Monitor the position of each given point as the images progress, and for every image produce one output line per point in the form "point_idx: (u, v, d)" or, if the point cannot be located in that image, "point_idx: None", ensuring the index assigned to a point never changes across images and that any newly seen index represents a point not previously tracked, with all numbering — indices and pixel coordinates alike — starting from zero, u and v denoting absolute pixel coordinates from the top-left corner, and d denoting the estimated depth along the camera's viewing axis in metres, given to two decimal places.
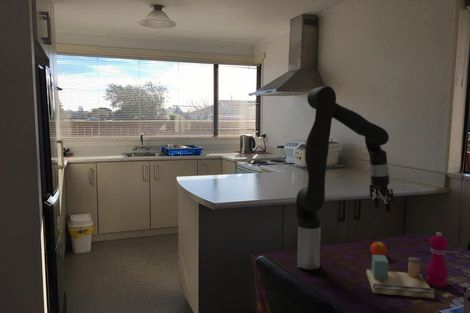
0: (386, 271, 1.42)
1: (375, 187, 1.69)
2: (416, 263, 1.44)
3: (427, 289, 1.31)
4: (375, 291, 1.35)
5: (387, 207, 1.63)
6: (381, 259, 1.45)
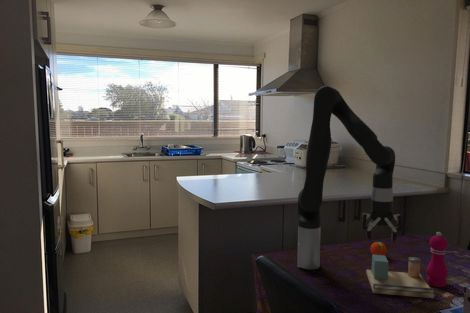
0: (386, 271, 1.42)
1: None
2: (416, 263, 1.44)
3: (427, 289, 1.31)
4: (375, 291, 1.35)
5: None
6: (381, 259, 1.45)
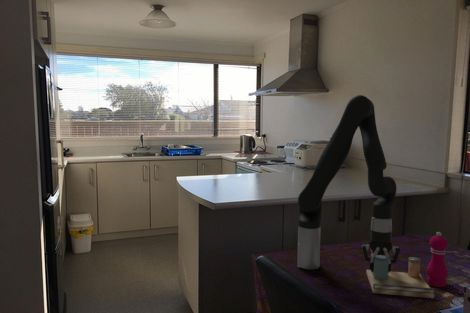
0: (386, 271, 1.42)
1: None
2: (416, 263, 1.44)
3: (427, 289, 1.31)
4: (375, 291, 1.35)
5: None
6: (381, 259, 1.45)
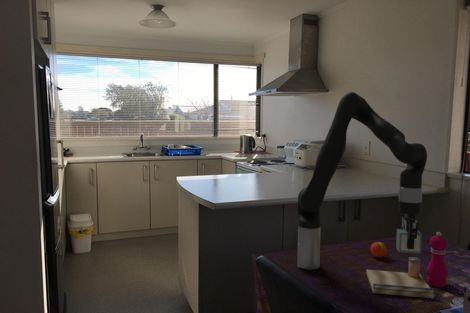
0: (399, 242, 1.35)
1: None
2: (416, 263, 1.44)
3: (427, 289, 1.31)
4: (375, 291, 1.35)
5: None
6: (405, 231, 1.35)
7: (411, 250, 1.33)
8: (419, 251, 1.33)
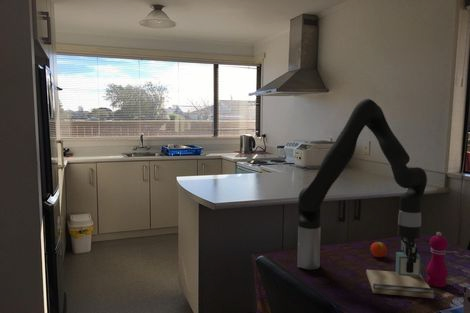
0: (398, 265, 1.36)
1: None
2: None
3: (427, 289, 1.31)
4: (375, 291, 1.35)
5: None
6: (404, 254, 1.36)
7: (410, 273, 1.34)
8: (418, 274, 1.34)
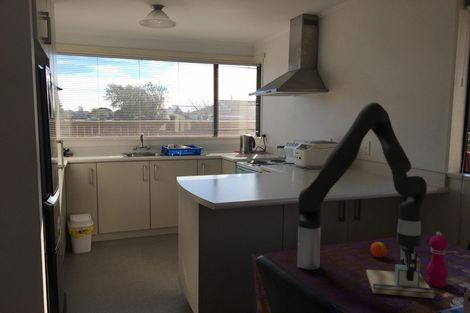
0: (397, 278, 1.36)
1: None
2: None
3: (427, 289, 1.31)
4: (375, 291, 1.35)
5: None
6: (403, 267, 1.37)
7: None
8: None
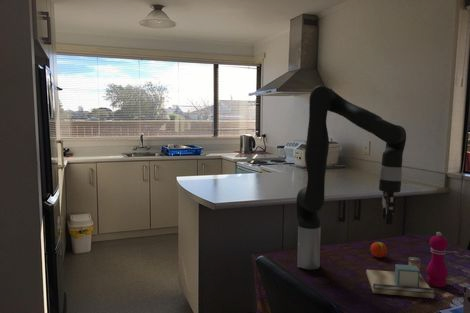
0: (397, 278, 1.36)
1: None
2: (416, 263, 1.44)
3: (427, 289, 1.31)
4: (375, 291, 1.35)
5: None
6: (403, 267, 1.37)
7: None
8: None
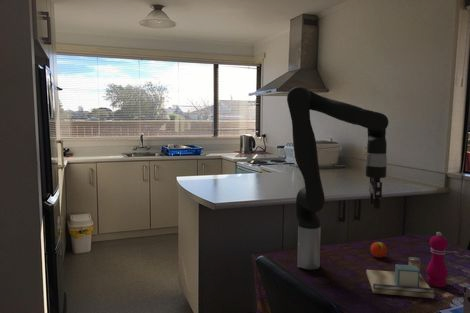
0: (397, 278, 1.36)
1: (379, 181, 1.45)
2: (416, 263, 1.44)
3: (427, 289, 1.31)
4: (375, 291, 1.35)
5: None
6: (403, 267, 1.37)
7: None
8: None
